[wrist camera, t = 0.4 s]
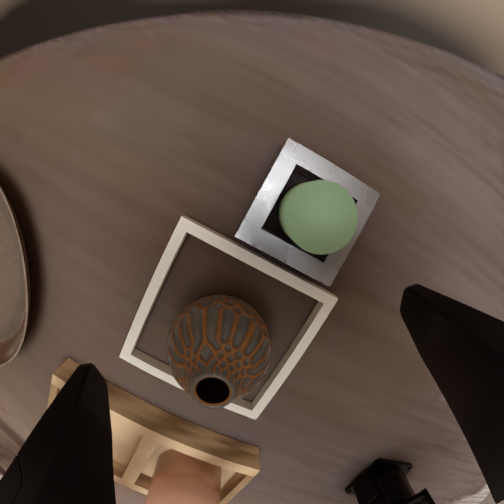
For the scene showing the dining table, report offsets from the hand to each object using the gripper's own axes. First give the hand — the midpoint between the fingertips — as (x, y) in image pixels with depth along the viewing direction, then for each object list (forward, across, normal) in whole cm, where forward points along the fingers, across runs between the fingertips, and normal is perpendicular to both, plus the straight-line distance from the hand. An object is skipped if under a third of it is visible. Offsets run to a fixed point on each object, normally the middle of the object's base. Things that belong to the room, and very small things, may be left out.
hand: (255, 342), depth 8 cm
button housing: (+14, -6, +4) cm, 16 cm away
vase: (+12, +1, +11) cm, 17 cm away
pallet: (+9, +12, +22) cm, 27 cm away
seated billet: (+6, +9, +25) cm, 27 cm away
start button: (+13, -6, +3) cm, 14 cm away
